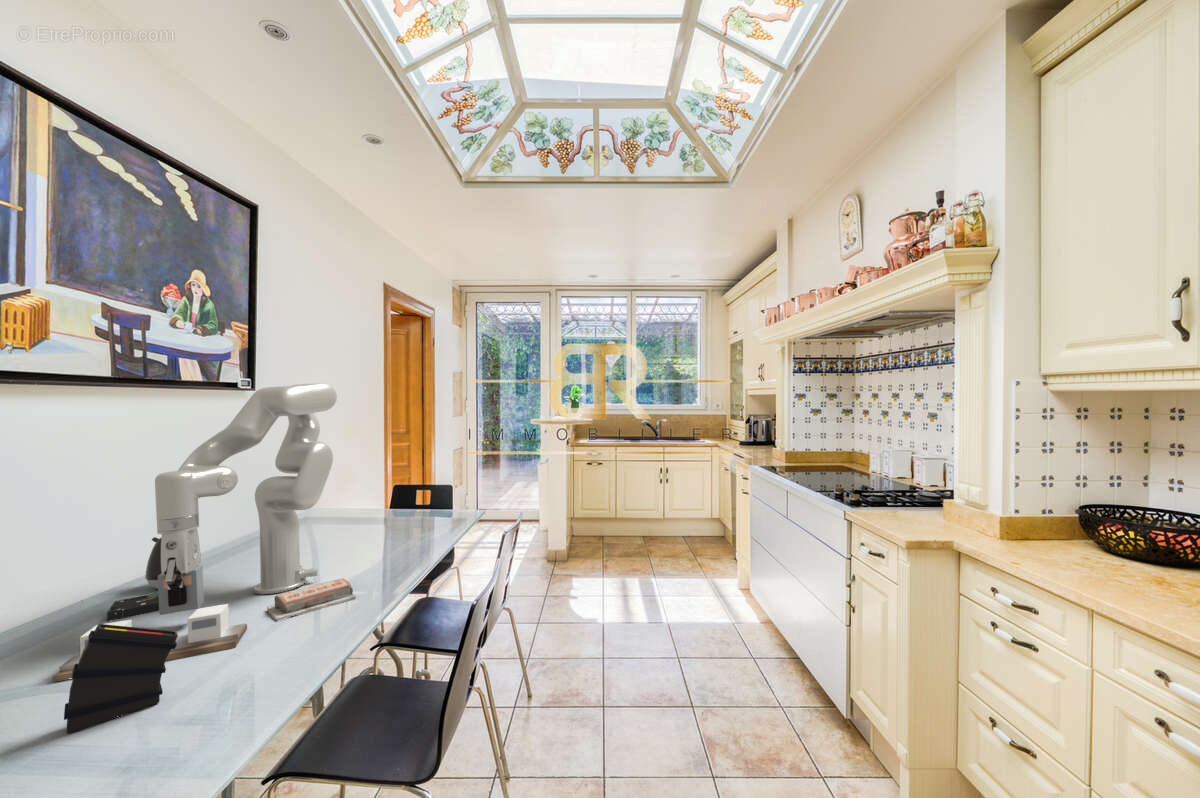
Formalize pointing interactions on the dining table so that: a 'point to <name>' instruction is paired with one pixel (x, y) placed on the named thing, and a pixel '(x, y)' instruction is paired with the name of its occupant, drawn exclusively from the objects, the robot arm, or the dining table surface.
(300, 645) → the dining table surface
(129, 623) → the block
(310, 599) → the packaged product
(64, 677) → the rail board
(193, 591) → the block
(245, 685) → the dining table surface
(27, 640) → the dining table surface
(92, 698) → the black ridged block
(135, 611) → the disk drive
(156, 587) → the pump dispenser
